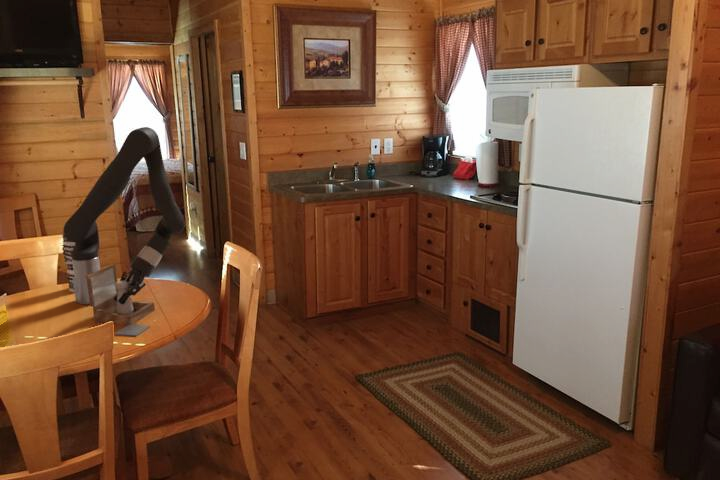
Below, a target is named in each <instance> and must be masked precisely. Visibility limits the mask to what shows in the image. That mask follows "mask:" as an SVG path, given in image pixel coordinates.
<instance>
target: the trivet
mask: <svg viewBox="0 0 720 480" xmlns="http://www.w3.org/2000/svg"><path fill="white" fill-rule="evenodd" d="M149 328H151V325H142V324H133V325H132V324H129V325H125V326H124V327H122V328H121V329H119V330H118V331H117V332H114V335H115V336H124V337H136V338H137V337H138V336H140V335H141V334H143V333H144V332H146V331H147V330H148V329H149Z"/></svg>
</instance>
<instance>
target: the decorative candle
mask: <svg viewBox="0 0 720 480" xmlns="http://www.w3.org/2000/svg"><path fill="white" fill-rule="evenodd" d="M61 235H62V246H61V247H62V249H61V250H62V254H63V255H64V256H63V259H64V263H65V264H66V267H67V269H66V270H67V271H66V272H67V273H66V276H67V280H68V282H67V284H68V288H69V289H68V290H69V292H72V293H75V292H74V285H73V278H75V276H74V269H73V262H72V256H71V253H72V250H73V249H74V247H75V242H70V241H68V240H67V239H66V237H65V236H64V232H62V233H61Z"/></svg>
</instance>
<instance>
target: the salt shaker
mask: <svg viewBox="0 0 720 480" xmlns="http://www.w3.org/2000/svg"><path fill="white" fill-rule="evenodd" d="M127 285H128V282H127V281H120V280H117V282H116V283H115V288H116V289H118V293H117V305H116V312H115V313H116V315H127V316H130V315H131V314H133V313H134V311H135V310H134V308H133V305H132V302H131V300H132V298H131V299H130V297H131V296H129V298H128V299H127V300H126V302H125V303H124V304H123V305H122V304H120V303H119V302H118V300H119V299H120V297H121V296H122V295H123V293H125V290H126V289H127V287H128V286H127Z"/></svg>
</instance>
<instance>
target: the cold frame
mask: <svg viewBox="0 0 720 480" xmlns="http://www.w3.org/2000/svg"><path fill="white" fill-rule="evenodd" d="M86 278H87V285H88V292H89V299H90V304H89V305H90V307H92V309H93V318H94V323H98V324H107V323H106V322H109V321H113V322H114V324H113V325H121V326H122V325H123V326H127V325H129V324H132V325H136V323H137V322H139V321H141V320H142V319H144V318H145V317H147V316H148V315H150V314H151V313H154V312H155V310H156V309H155V302H152V301H136V300H135V301H134V300H132V297H131V296H130V299H131V302H132V305H133V308H134V310H133V311H135V312H133V314H131V315H130V316H127V315H118V314H115V313H117V312H116V305H117V302H116V301H115V300H114V297H115V296H116V294H117V293H118V289H116V288H115V283H116V282H118V275H117V268H116V263H111V264H109V265H107V266H104V267H103V268H100V270H98V271H96V272H94V273H92V274H89V275H87V276H86Z"/></svg>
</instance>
